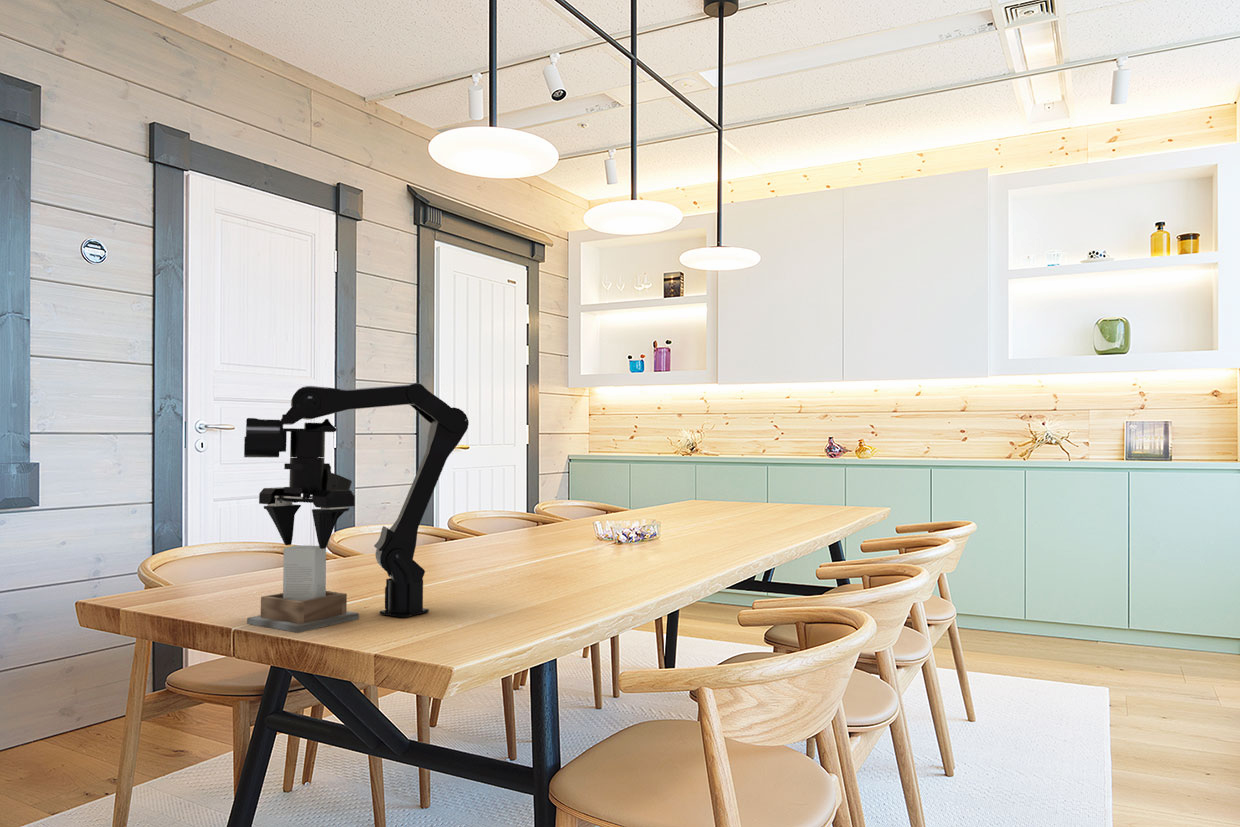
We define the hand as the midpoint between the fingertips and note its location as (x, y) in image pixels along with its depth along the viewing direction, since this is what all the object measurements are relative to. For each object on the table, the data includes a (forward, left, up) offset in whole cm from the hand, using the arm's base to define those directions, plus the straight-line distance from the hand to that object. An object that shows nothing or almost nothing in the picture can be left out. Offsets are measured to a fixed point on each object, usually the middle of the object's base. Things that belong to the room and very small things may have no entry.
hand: (305, 546), depth 146 cm
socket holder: (0, 0, -13) cm, 13 cm away
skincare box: (0, 0, -12) cm, 12 cm away
